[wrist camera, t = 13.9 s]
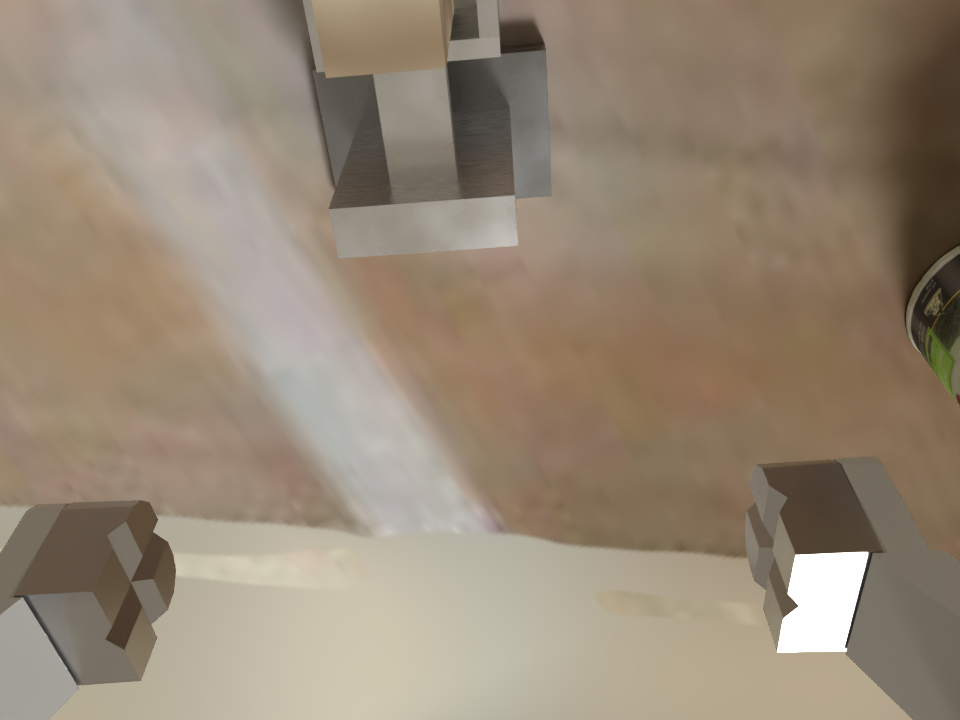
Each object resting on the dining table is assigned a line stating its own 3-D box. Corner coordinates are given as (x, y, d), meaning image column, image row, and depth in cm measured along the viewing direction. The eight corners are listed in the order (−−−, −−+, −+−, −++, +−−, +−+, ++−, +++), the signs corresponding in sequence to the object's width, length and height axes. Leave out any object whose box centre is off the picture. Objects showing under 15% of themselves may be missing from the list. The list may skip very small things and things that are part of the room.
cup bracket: (272, -159, 39) (199, -128, 29) (535, -186, 38) (550, -163, 28) (343, 202, 49) (307, 314, 40) (550, 186, 49) (565, 297, 39)
